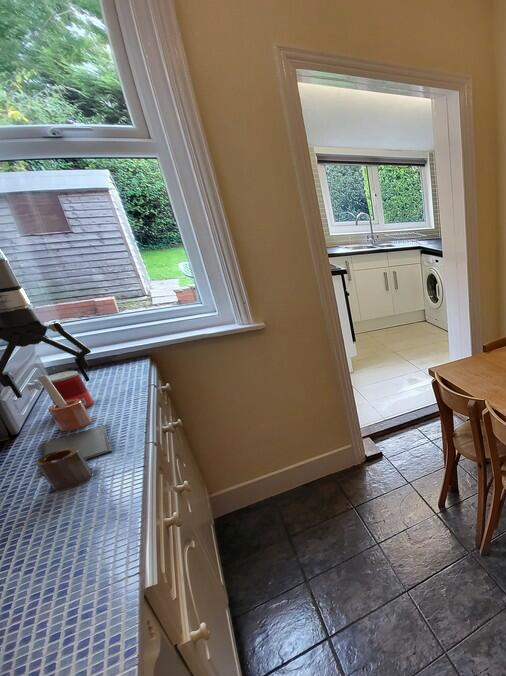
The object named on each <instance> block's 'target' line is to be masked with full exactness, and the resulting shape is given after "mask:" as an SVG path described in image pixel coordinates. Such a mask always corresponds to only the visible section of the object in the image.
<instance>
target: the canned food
mask: <svg viewBox="0 0 506 676" xmlns="http://www.w3.org/2000/svg"><path fill="white" fill-rule="evenodd" d="M47 377H48V378H49V379H50V381H51V382H52V384H53V385H54V387H55V388H56V389H57V391H58V392H59V394H60V395H61V396H62V398H63V399H64V401H67V400H73V399H80V400H81V402H82V403H83V405H84V407H85V409H87V408H89V407H92V405H93V404H94V400H93V398H92V396H91V394H90V392H89V390H88V388H87V387H86V384H85V382H84V381H83V379H82V377H81V375H80V373H78V371H77V370H68V371H67V370H66V371H61V372H57V373H54V374H49V375H47ZM46 393H47V394H48V392H47V391H46ZM48 396H49V398H50V399H51V401H52V403H53V405H54V404H55V402H54V401H53V399H52V398H51V397H50V395H49V394H48Z"/></svg>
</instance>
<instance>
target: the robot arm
mask: <svg viewBox="0 0 506 676" xmlns="http://www.w3.org/2000/svg"><path fill="white" fill-rule="evenodd" d="M30 305H31V301H30V299H29V298H28V296H27V293H26V292H25V290H24V289H23V287H22V286H21V284H20V282H19V280H18V278H17V276H16V274H15V272H14V270H13V268H12V266H11V264H10V261H9V259H8V258H7V257H6V255H5V253H3V251H2V250H1V249H0V340H2V341H4V342H6V343H7V345H6V348H5V349H4V352H3V353H2V356H1V358H0V384H1V386H2V387H4V388H7V387H9V388H10V389H11V391H12V392H13V394H14V396H15V397H16V398H17V399H21V398H23V393H22V392H21V390H20V388H19V387H18V385H17V383H16V382H15V380H14V379H13V377H12V376H11V374H10V372H9V371H5V372H4V370H5V369H6V367H7V365H8V362H9V361H10V358H11V357H12V355H13V353H14V351H15V349H16V347H19V348H24V347H27V346H30V345H39V344H41V343H42V342H43V343H45V344H47V345H50V346H52V347H54V348H56V349H58V350H60V351H63V352H65V353H67V354H69V355H71V356H73V360H74V362H75V364H76V365H77V367H78V369H79V371H80V373H81V375H82V376H83V378H84V380H85V382H90V381H91V380H90V377H89V375H88V373H87V371H86V370H85V369H89V368H90V366H89V363H88V361H87V359H86V358H85V357H86V355H88V354H89V355H90V354H91V353H92V352H91V351H92V350H91V348H90V347H88V346H87V345H86V344H84V343H83V342H82V341H80V340H79V339H77V338H76V337H75V336H73V335H72V334H71V333H70V332H68V331H67V330H66V329H64V327H63V325H62V324H61V322H60V321H54V322H53V323H48V324H44V323H43V322H42V321H41V319H40V317H39V315H38V314H37V313H36V310H35V308H34V307H33V306H30ZM48 330H51V331H52V332H54V333H58V334H59V335H60V336H61V337H63V338H64V339H66V340H67V341H68V342H70V343H71V344H72V345H74V346H75V347H77V348H78V349H79V350H77V349H75V348H73V347H71V346H69V345H68V344H67V345H66V344H64V343H62V342H60V341H58V340H56V339H54V338H52V337H50V336H48V335H47V334H46V333H47V331H48Z"/></svg>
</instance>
